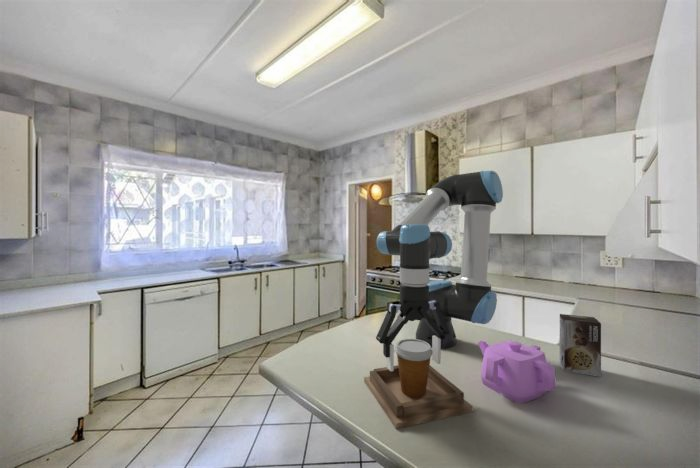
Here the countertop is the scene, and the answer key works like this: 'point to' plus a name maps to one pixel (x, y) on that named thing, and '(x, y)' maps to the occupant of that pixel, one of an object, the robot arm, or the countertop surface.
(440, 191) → the robot arm
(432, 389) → the cup caddy
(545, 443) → the countertop surface
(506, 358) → the teakettle
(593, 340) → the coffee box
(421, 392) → the disposable coffee cup
